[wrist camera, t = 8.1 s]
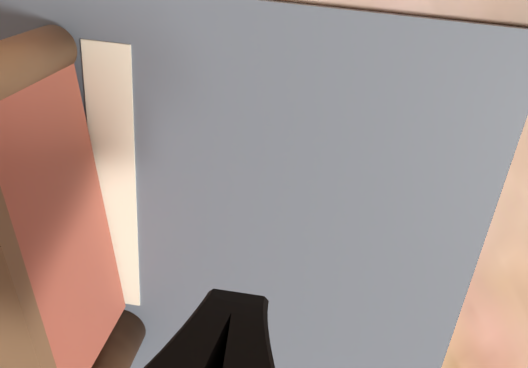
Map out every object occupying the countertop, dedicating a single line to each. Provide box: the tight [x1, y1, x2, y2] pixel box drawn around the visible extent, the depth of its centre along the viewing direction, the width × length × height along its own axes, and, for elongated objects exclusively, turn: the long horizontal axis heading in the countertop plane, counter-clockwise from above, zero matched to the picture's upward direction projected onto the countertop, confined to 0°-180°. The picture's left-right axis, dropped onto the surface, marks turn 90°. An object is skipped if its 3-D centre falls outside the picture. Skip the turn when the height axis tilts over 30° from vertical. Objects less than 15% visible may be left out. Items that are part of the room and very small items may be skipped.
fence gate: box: [0, 25, 126, 368], centre depth 15 cm, size 11×1×6 cm, turn 3°
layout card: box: [0, 0, 528, 368], centre depth 19 cm, size 17×24×1 cm
